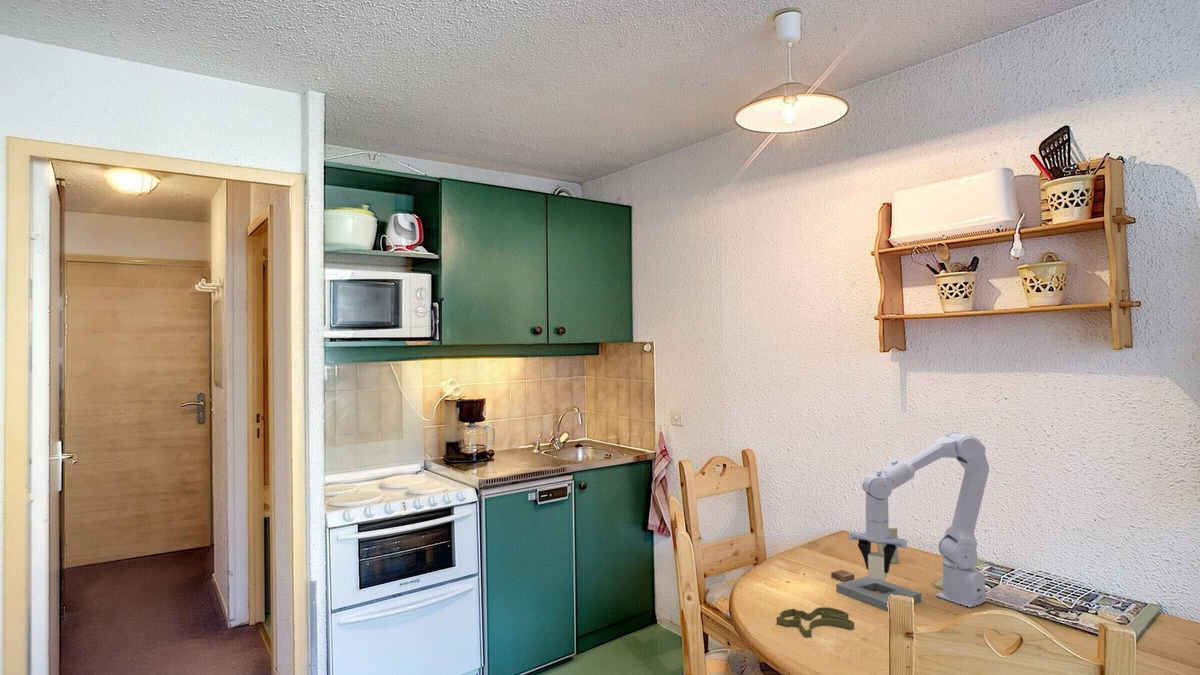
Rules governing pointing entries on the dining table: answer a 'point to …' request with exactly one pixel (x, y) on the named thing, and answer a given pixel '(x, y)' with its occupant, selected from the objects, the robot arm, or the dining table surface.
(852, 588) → the board
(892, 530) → the box
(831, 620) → the cookie cutter
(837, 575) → the short block
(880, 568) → the peg
